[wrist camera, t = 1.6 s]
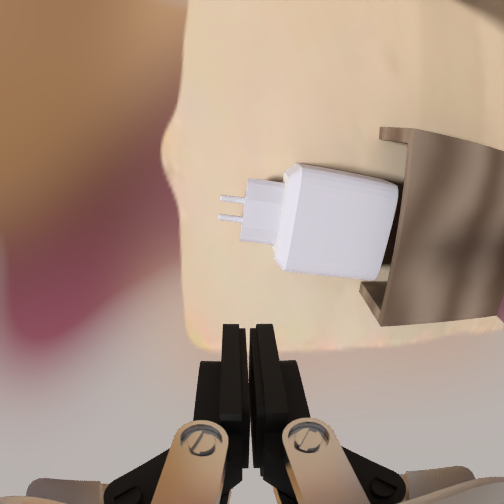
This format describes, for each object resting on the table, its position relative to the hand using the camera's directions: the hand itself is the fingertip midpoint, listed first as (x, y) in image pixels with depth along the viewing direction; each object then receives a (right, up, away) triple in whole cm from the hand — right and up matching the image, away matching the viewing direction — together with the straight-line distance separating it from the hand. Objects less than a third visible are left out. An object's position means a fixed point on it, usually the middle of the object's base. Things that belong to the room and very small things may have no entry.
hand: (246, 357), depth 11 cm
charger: (+5, +8, +20) cm, 22 cm away
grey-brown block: (+21, +7, +20) cm, 29 cm away
